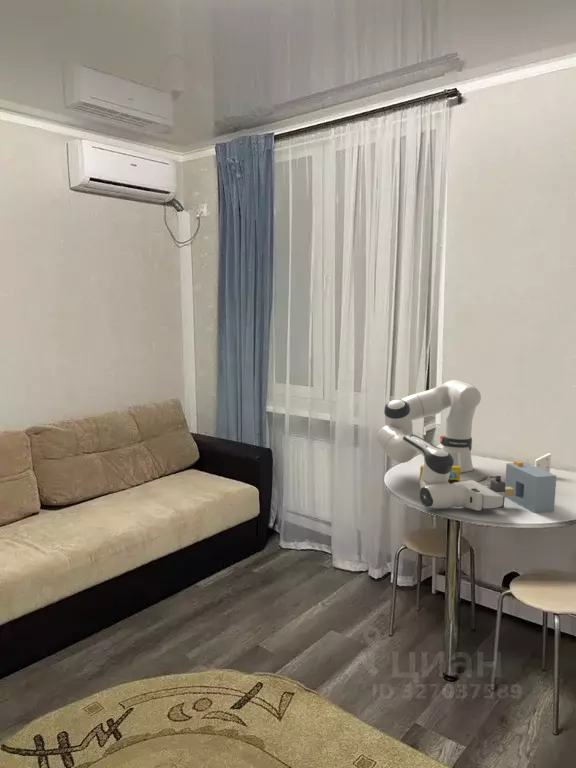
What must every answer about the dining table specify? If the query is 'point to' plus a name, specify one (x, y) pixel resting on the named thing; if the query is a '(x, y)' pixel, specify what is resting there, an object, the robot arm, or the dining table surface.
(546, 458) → the white wedge bracket
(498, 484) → the plug
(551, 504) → the socket
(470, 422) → the robot arm
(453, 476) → the candy box
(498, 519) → the dining table surface
